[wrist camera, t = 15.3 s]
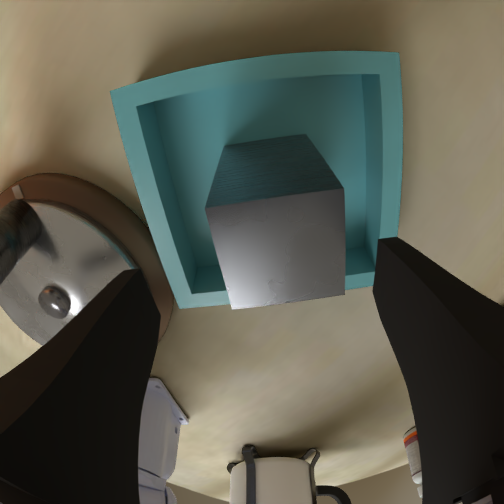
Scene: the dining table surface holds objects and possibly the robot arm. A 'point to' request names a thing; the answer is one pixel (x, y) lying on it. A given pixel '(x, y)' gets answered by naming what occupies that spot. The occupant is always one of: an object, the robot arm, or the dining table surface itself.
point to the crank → (54, 264)
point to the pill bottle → (414, 457)
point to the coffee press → (278, 480)
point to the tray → (257, 128)
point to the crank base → (110, 217)
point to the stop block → (277, 222)
